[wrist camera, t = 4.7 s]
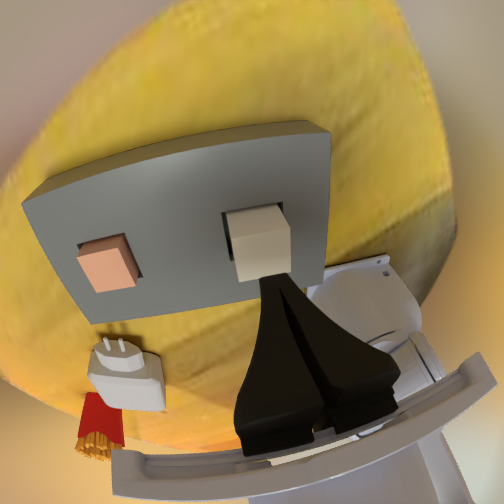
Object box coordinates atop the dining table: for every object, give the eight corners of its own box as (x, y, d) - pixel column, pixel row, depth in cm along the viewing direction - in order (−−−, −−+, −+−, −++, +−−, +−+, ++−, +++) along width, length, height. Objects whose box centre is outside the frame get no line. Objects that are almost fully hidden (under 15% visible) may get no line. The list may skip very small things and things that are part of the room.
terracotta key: (127, 222, 17) (117, 247, 15) (141, 258, 19) (136, 286, 17) (89, 231, 17) (76, 257, 15) (105, 265, 19) (96, 292, 17)
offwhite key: (276, 203, 17) (290, 228, 15) (278, 244, 19) (291, 272, 17) (225, 211, 17) (231, 238, 14) (233, 252, 19) (239, 282, 16)
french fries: (122, 395, 37) (120, 461, 27) (127, 404, 39) (126, 464, 29) (77, 390, 35) (71, 452, 25) (85, 398, 37) (80, 457, 27)
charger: (156, 322, 27) (165, 383, 36) (78, 316, 25) (107, 379, 33) (154, 360, 23) (166, 412, 32) (69, 351, 21) (104, 406, 30)
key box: (306, 120, 17) (330, 132, 14) (307, 254, 25) (322, 283, 21) (45, 179, 16) (20, 203, 13) (100, 292, 23) (91, 324, 20)
